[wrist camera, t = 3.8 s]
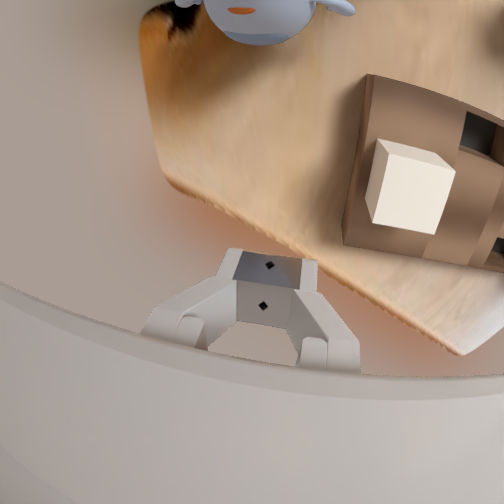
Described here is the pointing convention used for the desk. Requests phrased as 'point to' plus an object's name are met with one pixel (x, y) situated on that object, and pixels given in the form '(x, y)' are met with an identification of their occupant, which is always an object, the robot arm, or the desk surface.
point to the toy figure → (265, 17)
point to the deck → (454, 154)
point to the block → (407, 187)
